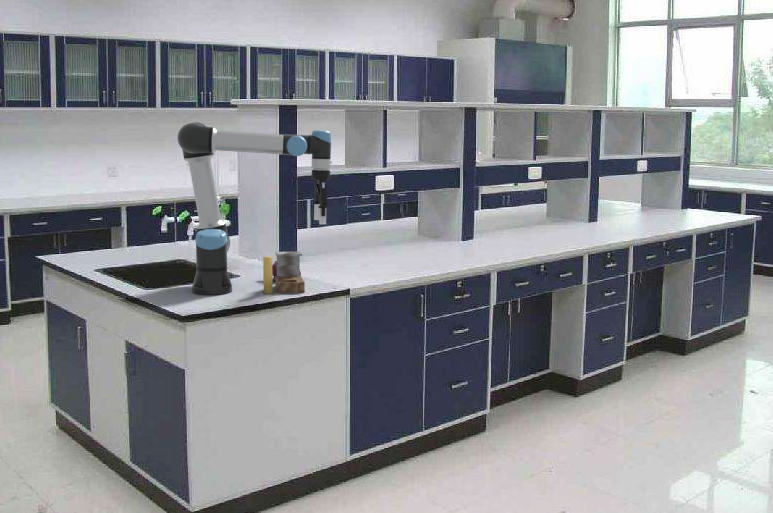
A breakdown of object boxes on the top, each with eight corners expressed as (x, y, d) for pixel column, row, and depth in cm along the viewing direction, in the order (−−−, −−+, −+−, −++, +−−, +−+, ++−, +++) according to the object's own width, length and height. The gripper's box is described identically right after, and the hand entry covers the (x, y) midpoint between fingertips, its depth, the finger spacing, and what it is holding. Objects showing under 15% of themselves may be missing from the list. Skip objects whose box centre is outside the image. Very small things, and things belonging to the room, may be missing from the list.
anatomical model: (300, 276, 357) (265, 270, 355) (303, 256, 353) (268, 250, 351) (298, 288, 346) (262, 283, 345) (301, 268, 342) (265, 262, 341)
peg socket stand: (278, 293, 324) (278, 257, 321) (275, 285, 337) (275, 251, 335) (304, 292, 326) (304, 257, 324) (300, 285, 339) (300, 251, 337)
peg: (263, 293, 322) (263, 258, 320) (263, 292, 325) (263, 256, 323) (272, 293, 323) (272, 257, 320) (272, 291, 326) (271, 256, 324)
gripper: (335, 171, 325) (334, 226, 328) (325, 167, 349) (324, 218, 352) (316, 171, 323) (315, 226, 326) (307, 167, 347) (306, 218, 350)
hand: (319, 222), depth 339 cm, fingers open, 13 cm apart
